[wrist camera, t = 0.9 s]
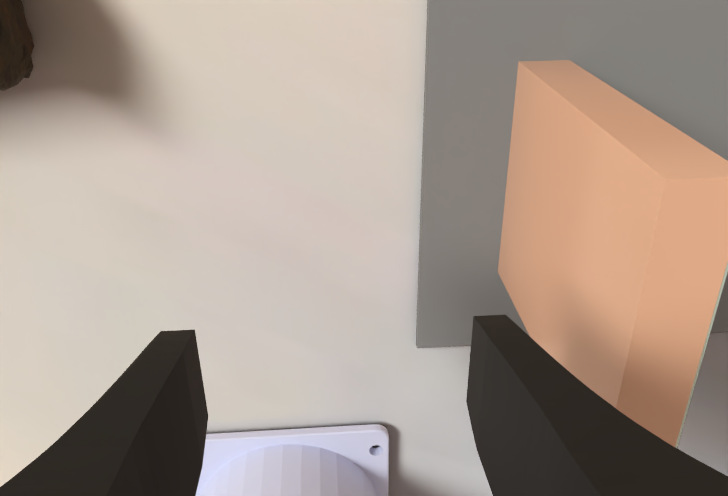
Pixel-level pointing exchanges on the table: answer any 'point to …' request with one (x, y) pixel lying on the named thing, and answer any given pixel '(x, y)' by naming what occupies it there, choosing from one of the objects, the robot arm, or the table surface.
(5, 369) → the table surface
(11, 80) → the hand tool
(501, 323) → the robot arm
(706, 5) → the mat
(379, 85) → the table surface
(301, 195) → the table surface
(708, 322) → the tile
